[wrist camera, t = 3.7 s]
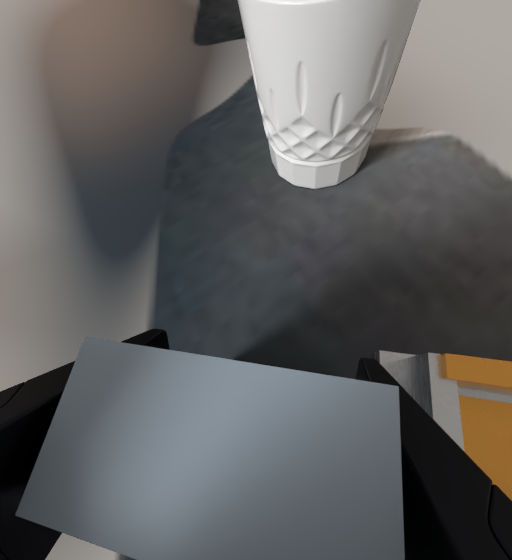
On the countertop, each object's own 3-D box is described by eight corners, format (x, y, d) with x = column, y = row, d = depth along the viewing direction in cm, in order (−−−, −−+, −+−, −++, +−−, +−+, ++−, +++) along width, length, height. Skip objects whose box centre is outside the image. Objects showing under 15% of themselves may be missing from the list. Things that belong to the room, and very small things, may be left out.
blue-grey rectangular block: (329, 452, 12) (408, 659, 3) (211, 426, 13) (15, 515, 4) (332, 385, 13) (399, 386, 4) (222, 366, 14) (84, 336, 5)
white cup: (358, 108, 20) (404, -120, 11) (387, 185, 17) (482, -43, 8) (260, 129, 21) (228, -64, 12) (270, 205, 18) (237, 24, 9)
